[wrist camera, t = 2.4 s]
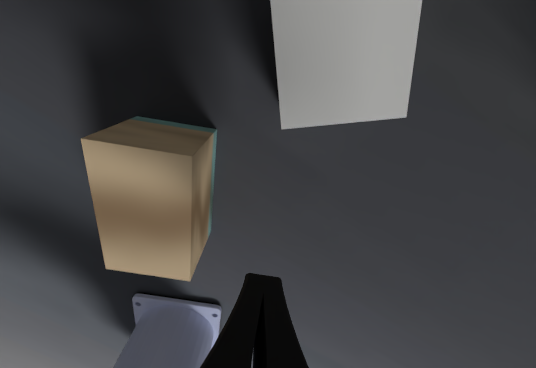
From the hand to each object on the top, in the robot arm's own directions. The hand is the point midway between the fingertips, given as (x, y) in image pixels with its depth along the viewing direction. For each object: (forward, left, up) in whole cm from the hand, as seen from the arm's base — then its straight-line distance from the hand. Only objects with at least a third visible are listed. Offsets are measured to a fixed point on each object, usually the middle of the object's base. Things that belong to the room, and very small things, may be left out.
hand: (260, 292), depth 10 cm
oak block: (0, +6, -8) cm, 11 cm away
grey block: (+9, -2, -8) cm, 12 cm away
